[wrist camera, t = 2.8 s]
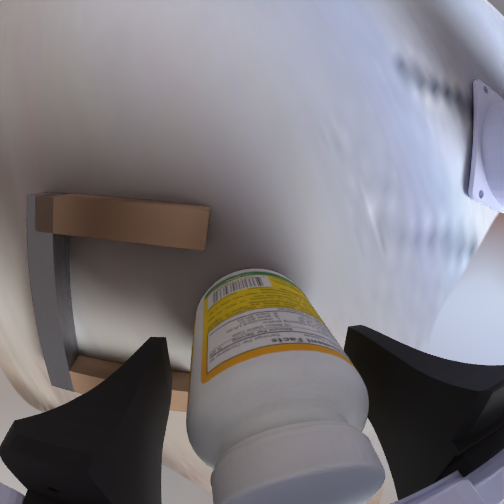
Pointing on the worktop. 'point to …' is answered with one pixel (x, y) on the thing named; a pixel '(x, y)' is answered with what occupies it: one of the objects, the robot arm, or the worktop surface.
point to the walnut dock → (58, 281)
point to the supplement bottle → (276, 399)
